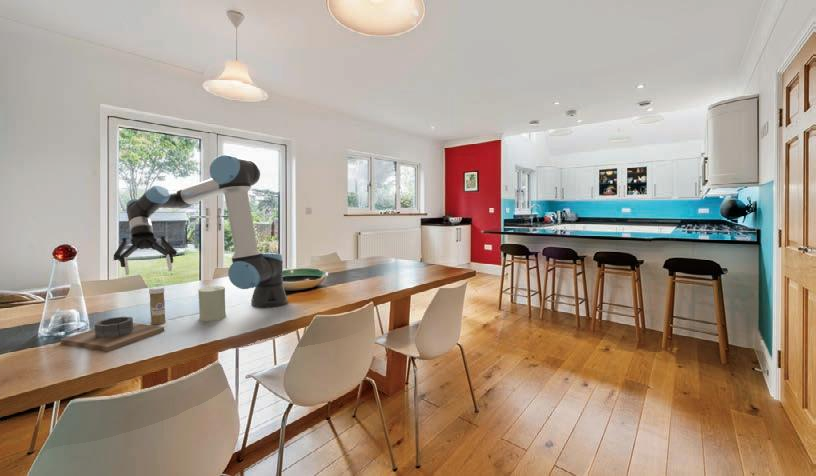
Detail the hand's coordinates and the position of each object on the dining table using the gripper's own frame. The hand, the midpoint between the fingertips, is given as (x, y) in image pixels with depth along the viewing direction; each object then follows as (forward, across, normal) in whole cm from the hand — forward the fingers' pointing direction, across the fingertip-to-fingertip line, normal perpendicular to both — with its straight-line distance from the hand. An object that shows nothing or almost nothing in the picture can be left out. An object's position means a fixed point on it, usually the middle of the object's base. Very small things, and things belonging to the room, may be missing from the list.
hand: (149, 271), depth 134 cm
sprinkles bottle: (+21, 0, -5) cm, 21 cm away
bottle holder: (+26, +13, 0) cm, 29 cm away
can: (+25, -17, 0) cm, 31 cm away
